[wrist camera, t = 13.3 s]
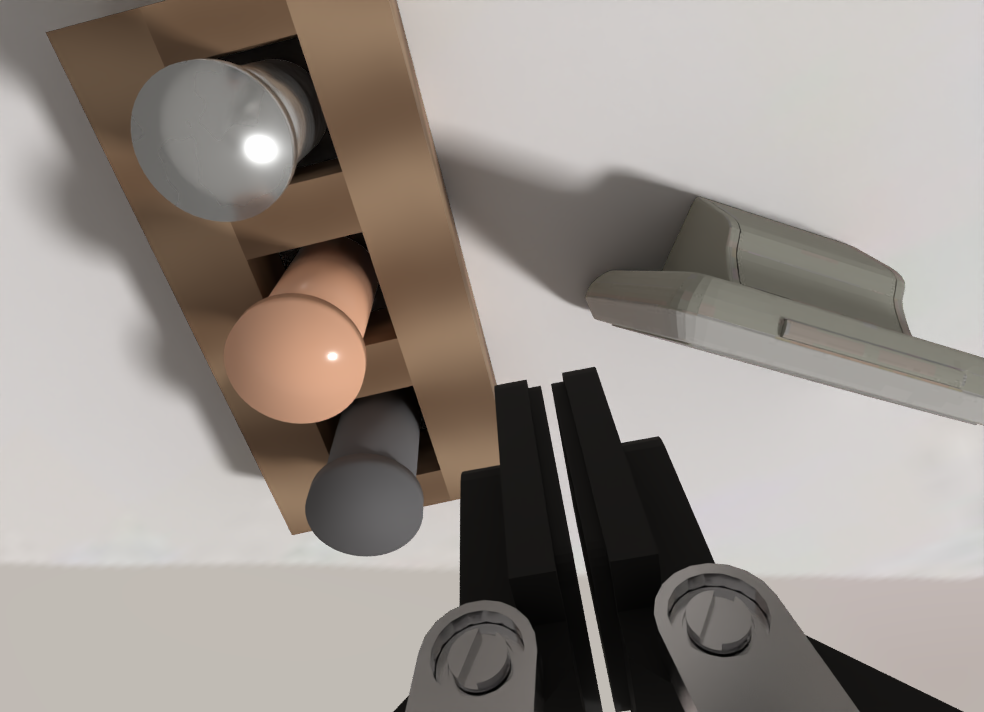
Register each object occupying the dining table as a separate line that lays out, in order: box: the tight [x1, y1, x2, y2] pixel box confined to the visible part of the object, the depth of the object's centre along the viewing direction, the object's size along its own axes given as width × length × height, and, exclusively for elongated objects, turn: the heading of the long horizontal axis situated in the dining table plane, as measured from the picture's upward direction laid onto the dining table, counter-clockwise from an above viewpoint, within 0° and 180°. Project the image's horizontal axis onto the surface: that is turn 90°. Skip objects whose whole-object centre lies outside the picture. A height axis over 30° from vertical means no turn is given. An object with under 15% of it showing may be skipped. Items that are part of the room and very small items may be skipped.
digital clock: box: [585, 197, 984, 425], centre depth 29 cm, size 16×9×11 cm, turn 61°
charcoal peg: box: [305, 386, 424, 556], centre depth 31 cm, size 5×5×9 cm
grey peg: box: [131, 59, 327, 222], centre depth 24 cm, size 5×5×9 cm
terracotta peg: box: [224, 237, 378, 424], centre depth 27 cm, size 5×5×9 cm
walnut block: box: [46, 0, 500, 535], centre depth 30 cm, size 24×12×4 cm, turn 13°
